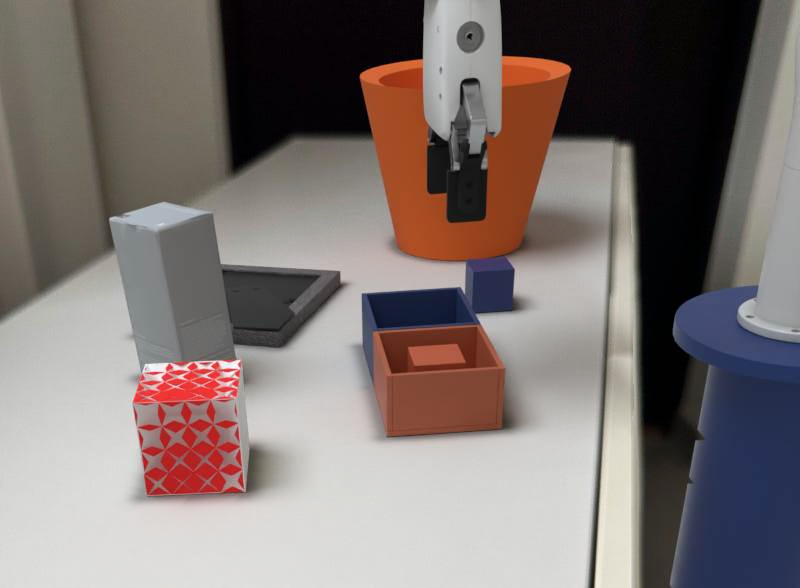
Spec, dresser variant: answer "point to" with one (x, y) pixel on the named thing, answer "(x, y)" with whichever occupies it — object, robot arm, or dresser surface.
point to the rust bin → (438, 383)
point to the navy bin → (412, 313)
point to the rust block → (435, 358)
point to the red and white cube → (192, 427)
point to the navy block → (489, 284)
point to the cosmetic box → (173, 284)
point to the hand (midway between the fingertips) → (454, 206)
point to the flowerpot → (507, 156)
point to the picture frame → (273, 300)
